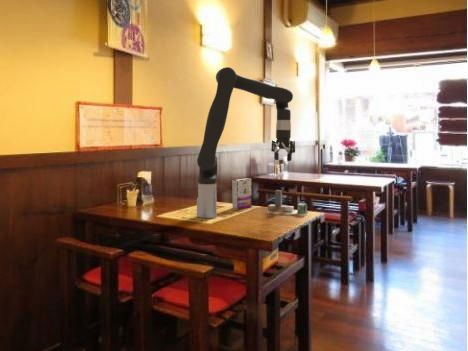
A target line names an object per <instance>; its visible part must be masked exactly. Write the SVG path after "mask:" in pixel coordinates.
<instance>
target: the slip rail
mask: <svg viewBox="0 0 468 351" xmlns="http://www.w3.org/2000/svg"><path fill="white" fill-rule="evenodd" d="M269 205H275V203H271V204H269ZM269 205H267V211H266V214H270V215H278V216H279V215H280V216H291V215H294V217H303V216H304V217H305V216H307V214H309V212H308V203H304V202H303V203H302V202H299V203H298V204H297V209H294V211H293V212H289V211H285V207H282V206H288V205H287V204H282V206H269Z"/></svg>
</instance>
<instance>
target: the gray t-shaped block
mask: <svg viewBox="0 0 468 351" xmlns="http://www.w3.org/2000/svg"><path fill="white" fill-rule="evenodd" d="M274 192H275V193H274V194H275V196H274V204H275V205H270V204H269V205H268V206H282V205H283V190H280V189H276V190H274ZM294 206H295V205H287V206H282V207H285V211H289V212H293V211H294V210H295V209H294V208H295V207H294Z"/></svg>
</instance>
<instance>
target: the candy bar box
mask: <svg viewBox="0 0 468 351" xmlns="http://www.w3.org/2000/svg"><path fill="white" fill-rule="evenodd" d="M252 182H253V181H252V178H248V177H247V178H239V179H232V180H231V185H232V186H231V187H232V188H231V189H232V192H231V193H232V202H231V203H232V209H236V210H241V209H246V208H251V207H252V204H253V203H252V196H253V193H252V190H253V188H252V184H253V183H252Z"/></svg>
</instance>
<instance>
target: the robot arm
mask: <svg viewBox="0 0 468 351" xmlns="http://www.w3.org/2000/svg"><path fill="white" fill-rule="evenodd" d="M215 80H216V82H217V87H216V93H215V95H214V99H213V101H212V103H211V105H210V108H209V112H208V114H207V118H206V124H205V129H204V134H203V135H204V136H203V141H202V144H201V146H200V147H201V148H200V150H199V153H198V156H197V159H196V160H197V161H196V163H197V165H198V167H199V173H198V174H199V175H198V178H197V179H198V181H197V183H198V184H197V185H198V189H197V190H198V191H197V192H198V193H197V194H198V197H197V198H196V217H197V218H201V219H214V218H216V217H217V209H218V208H217V206H218V205H217V204H218V203H217V202H218V201H217V179H218V157H217V155H216V154H217V148H218V145H219V144H218V143H219V141H220V139H221V137H222V135H223V132H224V129H225V125H226V122H227V118H228V113H229V112H228V111H229V108H230V107H229V106H230V102H231V97H232V93H233V90H234V89H236V90H241V91H244V92H247V93H250V94H253V95H255V96H258V97H261V98H265V99H268V100H275V106H276V107H275V109H276V124H275V138H276V139H273V140H271V150H270V151H271V152H272V153H273V154H274V158H273V159H274V160H275V161H279V159H280V158H279V155H280V154H279V152H280V151H281V150H285V152H286V153H287V155H286V156H287V157H286V161H287V162H291V161H292V159H293V158H292V154H294V153H296V141H295V140H291V136H292V134H291V133H292V125H291V124H292V122H291V110H290V109H289V103H291V102H292V100H293V98H294V94H293V92H292V91H291V89H287V88H284V87H282V86H281V87H280V86H276V85H273V84H270V83H267V82H263V81H261V80H260V81H259V80H256V79H251V78H248V77H243V76H241V75H238V74H237V73H236V71H235V69H234V68H232V67H222V68H221V69H219V70H218V71H217V73H216V75H215Z"/></svg>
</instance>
